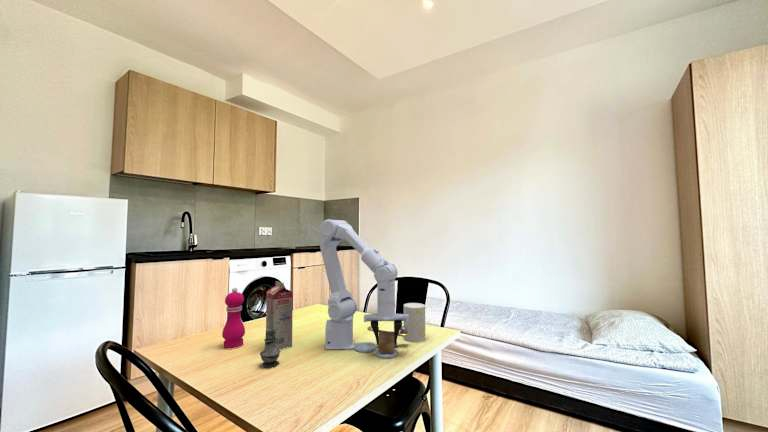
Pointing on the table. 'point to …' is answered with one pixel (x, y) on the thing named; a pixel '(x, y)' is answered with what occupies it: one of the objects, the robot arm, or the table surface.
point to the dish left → (365, 347)
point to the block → (386, 342)
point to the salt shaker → (270, 349)
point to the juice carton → (280, 314)
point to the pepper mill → (233, 320)
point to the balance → (402, 333)
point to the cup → (415, 322)
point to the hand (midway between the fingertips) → (386, 343)
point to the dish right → (386, 354)
